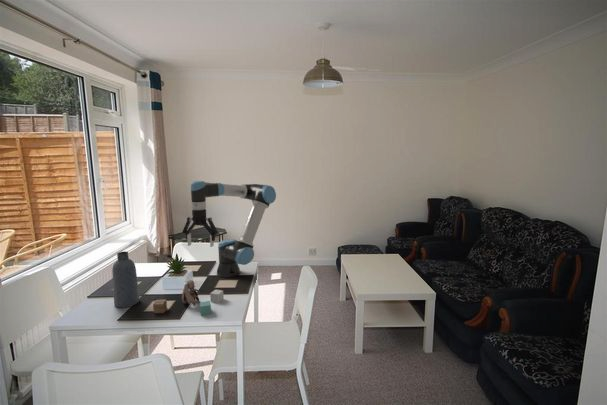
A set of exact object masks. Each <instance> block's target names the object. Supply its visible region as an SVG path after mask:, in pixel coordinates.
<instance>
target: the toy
mask: <svg viewBox="0 0 607 405" xmlns="http://www.w3.org/2000/svg"><path fill="white" fill-rule="evenodd" d="M184 283H185V284H184V286H183V290H182V292H181V302H182V303H183V304H186V302H185V301H187V303H188V304H189V305H192V306H196V304H197V303H199V302H200V297H199V294H200V292H199V289H196V286H195V281H194V280H193V279H190V280H188V281H186V280H185V281H184Z"/></svg>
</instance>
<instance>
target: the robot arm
mask: <svg viewBox="0 0 607 405" xmlns="http://www.w3.org/2000/svg"><path fill="white" fill-rule="evenodd" d="M190 195H191V196H190V197H191V198H190V199H191V216H192V217H191V216H188V217H187V218H186V222H185V225H184V227H183V230H182V234H185V239H186V240H187V246H188V247H190V246H191V245H192V233H191V231H192V230H193V229H194V228H195V226H200V227H201V226H202V227H204V228H205V230H207V232H208V233H209V242H210V243H209V245H210V246H209V247H210V248H212V247H214V246H215V244H214V241H215V240H216V237H215V236H216V235H218V234H219V231H218V229H217V228H216V226H215V224H214V222H213V217H212V216H211V217H207V209H206V208H207V202H206V201H207V200H206V199H207V198H214V197H215V198H216V197H220V196H221V197H222V196H223V197H239V199H246V200H249V201H251V202H252V207H251V208H250V211H249V214H248V217H247V219H246V221H245V225H244V227H243V229H242V232H241V234H240V237H239V238H238V239H234V238H232V239H231V238H229V239H224V240H221V241H219V242H218V247H217V248H218V266H217V269H216V276H217V277H219V278H223V279H225V278H226V279H228V278H229V279H230V278H234V277H237V276H239V275H240V273H241V269H240V267H239V265H240V266H241V265H243V266H246V265H248V264H250V263H251V262H252V260H253V259H254V257H255V251H254V244H253V242H254V239H255V237H256V235H257V233H258V230H259V226H260V224H261V221H262V220H263V216H264V213H265V211H266V209H268V208H269V207H270V205H271V204H273V203H274V202H275V201H276V199H277V192H276V190H275V187H273V186H272V185H268V184H259V183H258V184H257V183H251V184H244V183H243V184H242V183H241V184H240V185H239V184H238V185H237V184H230V183H229V184H226V183H220V182H216V183H214V182H206V181H204V180H195V181H191V183H190ZM191 222H192V224H191ZM190 224H191V225H190Z"/></svg>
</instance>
